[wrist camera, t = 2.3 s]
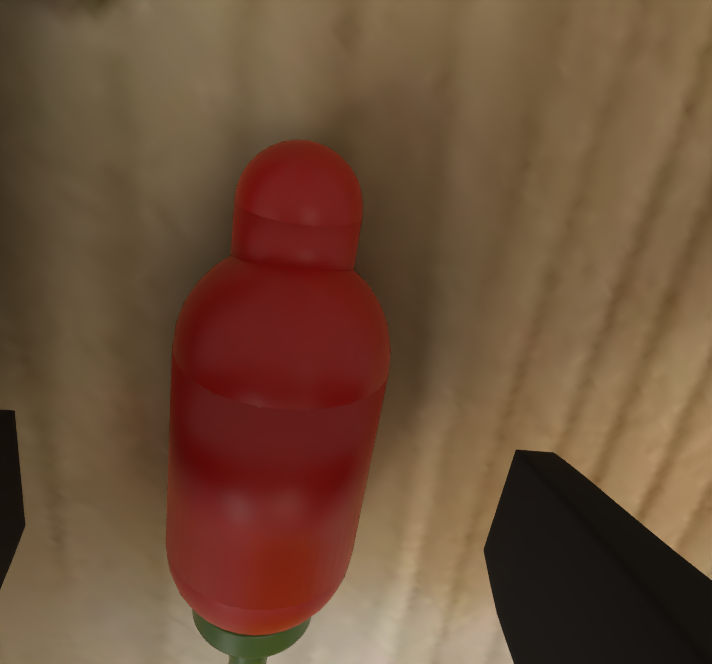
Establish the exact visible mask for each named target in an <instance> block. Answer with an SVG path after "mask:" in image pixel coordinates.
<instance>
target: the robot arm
mask: <svg viewBox="0 0 712 664" xmlns="http://www.w3.org/2000/svg"><path fill="white" fill-rule="evenodd" d="M24 528H25V517H24V506H23V495H22V484H21V474H20V463H19V452H18V441H17V431H16V420H15V411H12V410H0V589H1V586H2V584H3V581H4V579H5V576H6V574H7V572H8V569H9V567H10V564H11V562H12V559H13V557H14V554H15V551H16V549H17V546H18V543H19V541H20V538H21V536H22V533H23V530H24ZM484 555H485V560H486V565H487V570H488V575H489V580H490V585H491V589H492V594H493V598H494V602H495V607H496V611H497V615H498V618H499V621H500V624H501V627H502V630H503V633H504V636H505V639H506V642H507V645H508V648H509V650H510V653H511V656H512V659H513V662H514V664H712V580H711V579H709V578H708V577H707V576H705V575H704V574H703V573H702V572H700V571H699V570H698V569H697V568H695V567H694V566H693V565H691V564H690V563H689V562H688V561H686V560H685V559H684V558H683V557H681V556H680V555H679V554H678V553H676V552H675V551H674V550H673V549H671V548H670V547H669V546H668V545H667V544H665V543H664V542H663V541H662V540H660V539H659V538H658V537H657V536H656V535H654V534H653V533H652V532H651V531H649V530H648V529H647V528H646V527H645V526H643V525H642V524H641V523H640V522H639V521H637V520H636V519H635V518H634V517H633V516H631V515H630V514H629V513H628V512H627V511H626V510H624V509H623V508H622V507H621V506H620V505H618V504H617V503H616V502H615V501H614V500H612V499H611V498H610V497H609V496H608V495H606V494H605V493H604V492H603V491H602V490H601V489H599V488H598V487H597V486H596V485H595V484H593V483H592V482H591V481H590V480H588V479H587V478H586V477H585V476H584V475H582V474H581V473H580V472H579V471H577V470H576V469H575V468H574V467H572V466H571V465H570V464H569V463H567V462H566V461H565V460H563V459H562V458H560V457H559V456H558V455H556V454H555V453H553V452H540V451H527V450H516V451H515V454H514V457H513V460H512V463H511V466H510V469H509V473H508V476H507V479H506V482H505V485H504V488H503V491H502V494H501V497H500V500H499V503H498V507H497V510H496V513H495V516H494V519H493V522H492V525H491V528H490V531H489V534H488V537H487V541H486V544H485V547H484Z"/></svg>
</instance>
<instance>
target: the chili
mask: <svg viewBox="0 0 712 664" xmlns="http://www.w3.org/2000/svg"><path fill="white" fill-rule="evenodd" d="M362 212H363V200H362V193H361V188H360V185H359V182H358V180H357V177H356V176H355V174H354V172H353V170H352V169H351V167H350V166H349V165H348V164H347V163H346V161H345V160H344V159H343V158H342V157H341V156H340V155H338V154H337V153H336V152H334V151H333V150H332V149H330V148H328V147H326V146H324V145H321V144H319V143H317V142H313V141H308V140H289V141H282V142H280V143H277V144H274V145H271V146H269V147H268V148H266V149H264V150H263V151H261V152H260V153H258V154H257V155H256V156H255V157H254V158H253V159H252V160H251V161H250V162H249V164H248V165H247V167H246V168H245V170H244V171H243V173H242V174H241V177H240V179H239V182H238V184H237V188H236V193H235V200H234V214H233V228H232V241H231V255H230V256H229V257H228V258H226V259H224V260H222V261H221V262H219V263H218V264H216V265H215V266H214V267H213V268H212V269H211V270H210V271H208V272H207V273H206V274H205V275H204V276H203V277H202V278H201V279H200V280H199V281H198V283H197V284H196V285H195V287H194V288H193V290H192V291H191V293H190V294H189V296H188V297H187V299H186V300H185V302H184V304H183V306H182V309H181V311H180V314H179V316H178V319H177V322H176V328H175V334H174V341H173V346H172V368H171V397H170V427H169V457H168V486H167V516H166V550H167V558H168V564H169V569H170V572H171V575H172V577H173V579H174V582H175V584H176V586H177V588H178V590H179V592H180V594H181V596H182V597H183V598H184V599H185V601H186V602H187V603H188V604H189V605H190V607H191V608H192V612H193V618H194V622H195V625H196V627H197V629H198V630H199V632H200V634H201V635H202V636H203V638H204V639H205V640H206V641H207V642H208V643H209V644H210V645H212V646H213V647H214V648H216V649H218V650H219V651H221V652H223V653H226V654H228V655H229V664H266V660H267V657H268V656H271V655H275V654H277V653H280V652H282V651H284V650H285V649H287V648H289V647H290V646H292V645H293V644H294V643H295V642H296V641H297V640H298V639H299V638H300V637H301V636H302V635H303V634H304V632H305V631H306V629H307V627H308V625H309V623H310V620H311V617H312V616H313V615H314V614H315V613H317V612H318V611H320V610H321V609H322V608H323V606H324V605H325V604H326V603H327V602H328V601H329V600H330V599H331V597H332V596H333V595H334V593H335V592H336V590H337V589H338V587H339V585H340V584H341V582H342V580H343V578H344V577H345V574H346V571H347V568H348V565H349V562H350V559H351V556H352V552H353V547H354V542H355V537H356V532H357V527H358V522H359V517H360V512H361V507H362V502H363V497H364V492H365V487H366V482H367V477H368V473H369V468H370V463H371V458H372V453H373V448H374V443H375V438H376V433H377V428H378V423H379V418H380V413H381V408H382V403H383V398H384V393H385V389H386V384H387V379H388V374H389V366H390V355H391V348H390V340H389V333H388V325H387V321H386V319H385V316H384V313H383V310H382V308H381V305H380V303H379V302H378V300H377V298H376V296H375V295H374V293H373V292H372V290H371V289H370V287H369V286H368V284H367V283H366V282H365V281H364V280H363V279H362V278H361V277H360V276H359V275H358V274H357V273H356V272H355V271H354V265H355V259H356V253H357V246H358V240H359V234H360V228H361V222H362Z"/></svg>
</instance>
